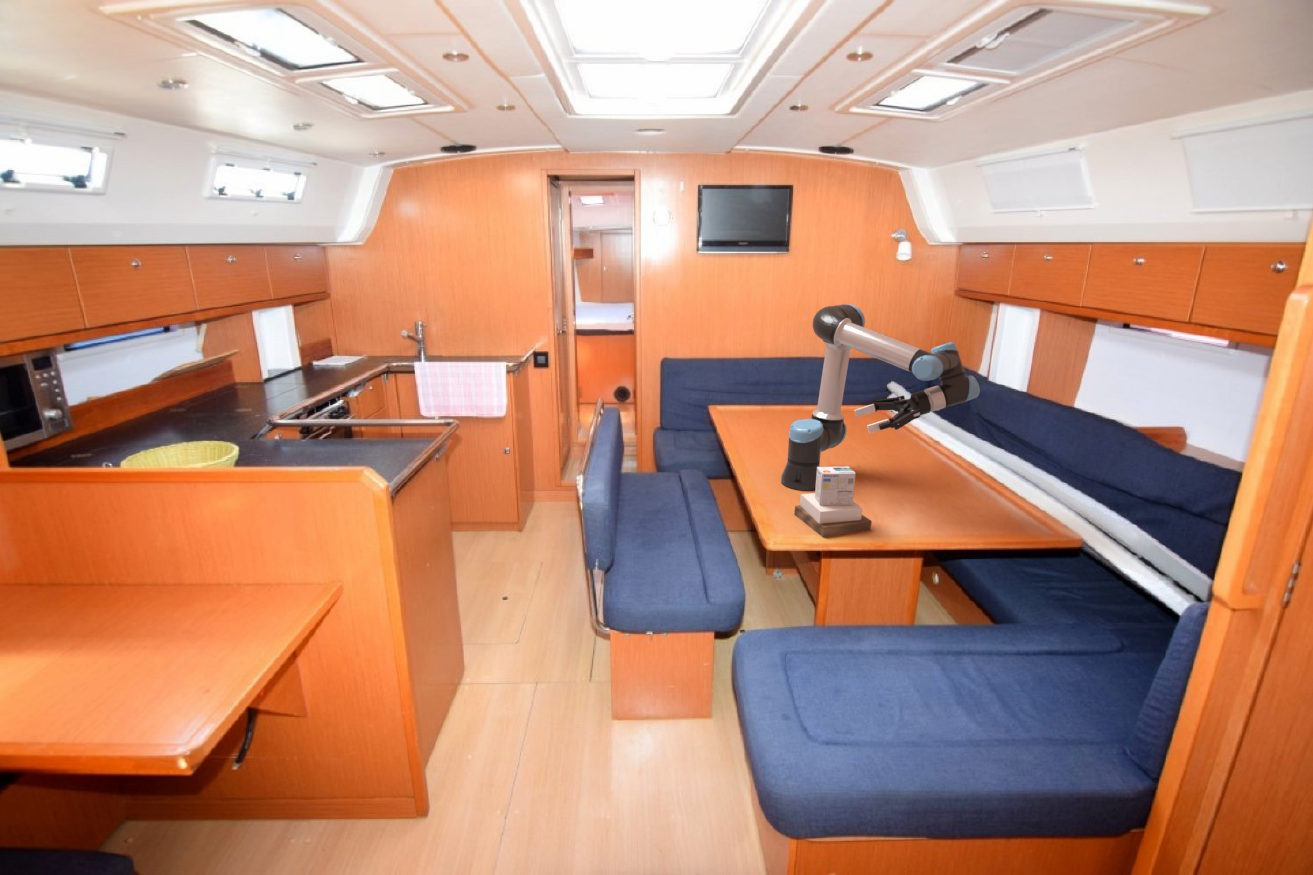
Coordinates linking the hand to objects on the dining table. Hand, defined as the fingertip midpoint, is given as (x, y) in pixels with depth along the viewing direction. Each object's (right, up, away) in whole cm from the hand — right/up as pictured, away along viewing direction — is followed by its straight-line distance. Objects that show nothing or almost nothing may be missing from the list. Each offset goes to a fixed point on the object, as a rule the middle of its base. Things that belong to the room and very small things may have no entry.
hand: (861, 421), depth 200 cm
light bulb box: (-10, -26, -5) cm, 28 cm away
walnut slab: (-10, -33, -2) cm, 35 cm away
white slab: (-11, -29, -3) cm, 31 cm away
